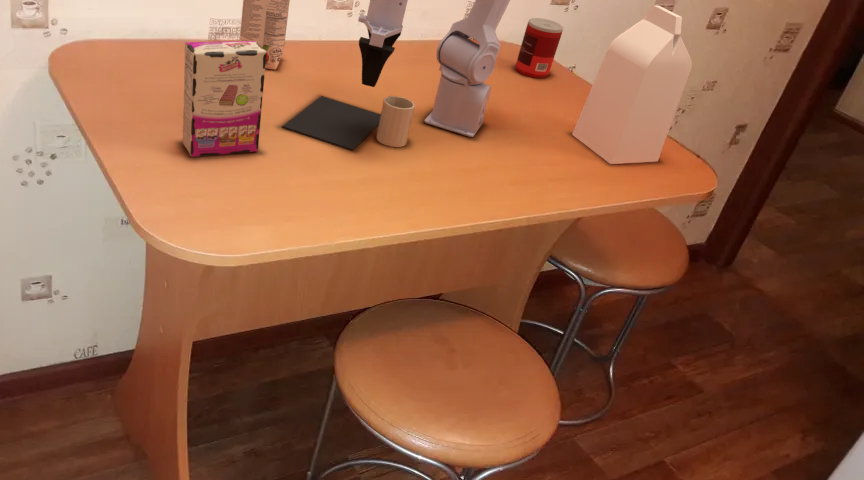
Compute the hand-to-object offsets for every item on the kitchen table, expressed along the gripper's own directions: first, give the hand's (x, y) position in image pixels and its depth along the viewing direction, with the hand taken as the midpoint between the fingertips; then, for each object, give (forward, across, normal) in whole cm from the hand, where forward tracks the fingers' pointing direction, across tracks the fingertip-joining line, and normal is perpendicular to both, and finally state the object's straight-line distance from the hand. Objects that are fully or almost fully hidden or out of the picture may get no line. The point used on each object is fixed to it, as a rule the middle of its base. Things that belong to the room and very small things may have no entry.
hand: (371, 77), depth 130 cm
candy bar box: (+12, +15, -20) cm, 28 cm away
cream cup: (+11, -2, +6) cm, 12 cm away
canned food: (+8, -55, +32) cm, 64 cm away
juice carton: (+11, -25, -24) cm, 36 cm away
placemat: (+11, -4, -5) cm, 13 cm away
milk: (+9, -21, +47) cm, 52 cm away
